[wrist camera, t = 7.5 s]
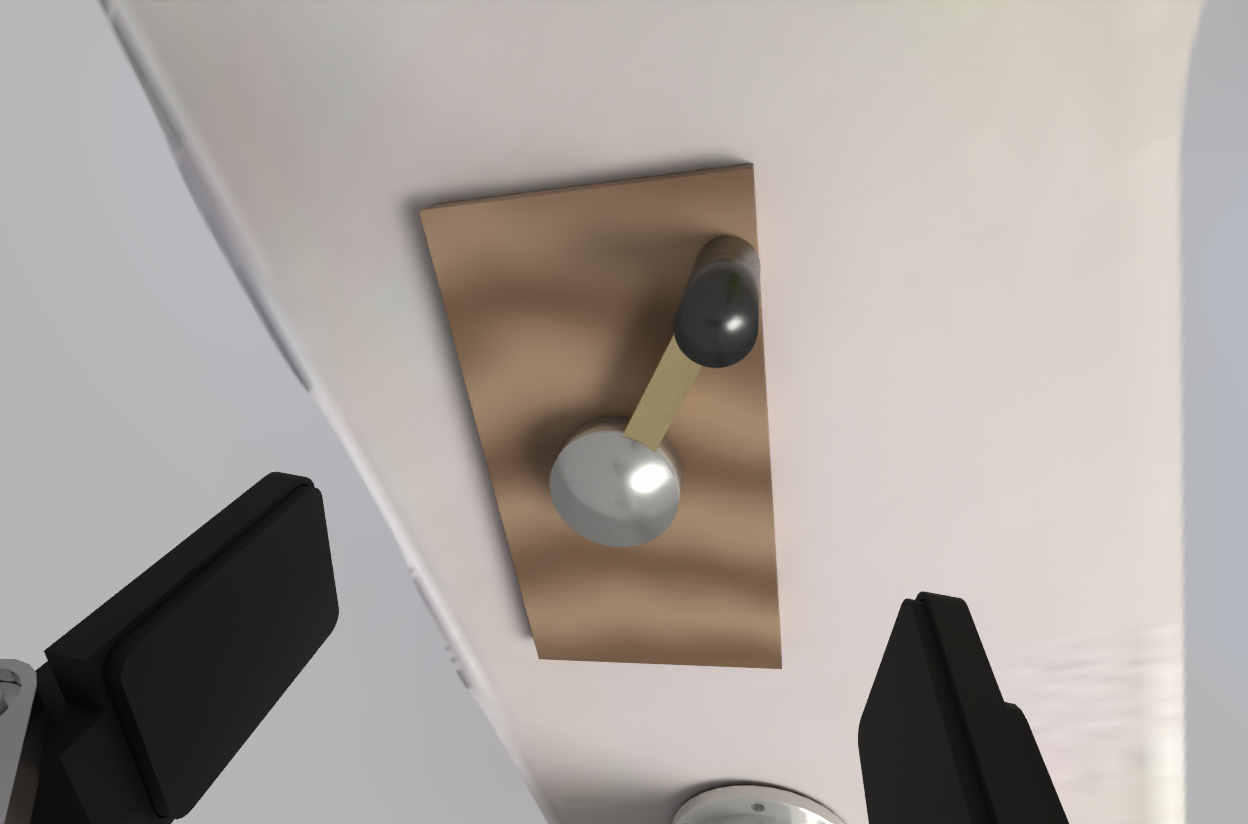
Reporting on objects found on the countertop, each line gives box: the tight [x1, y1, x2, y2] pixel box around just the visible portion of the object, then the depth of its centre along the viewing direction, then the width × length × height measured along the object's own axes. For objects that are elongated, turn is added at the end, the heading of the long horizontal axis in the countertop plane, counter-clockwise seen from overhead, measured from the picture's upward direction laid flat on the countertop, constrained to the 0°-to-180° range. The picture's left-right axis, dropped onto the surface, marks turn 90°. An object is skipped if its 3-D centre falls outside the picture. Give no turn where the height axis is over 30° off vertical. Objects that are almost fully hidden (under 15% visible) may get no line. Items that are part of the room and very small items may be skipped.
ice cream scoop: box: [549, 236, 760, 547], centre depth 27 cm, size 15×6×7 cm, turn 157°
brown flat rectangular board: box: [419, 163, 782, 669], centre depth 33 cm, size 26×14×2 cm, turn 8°
